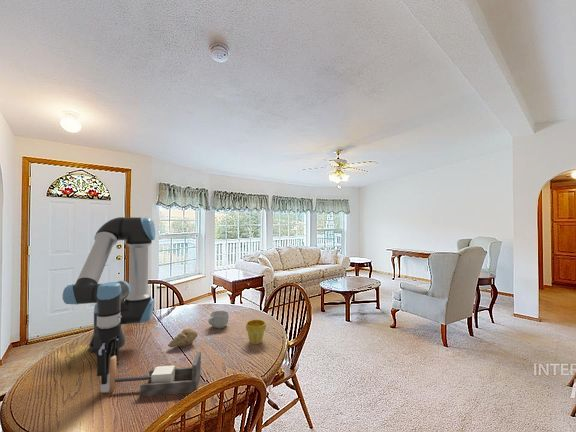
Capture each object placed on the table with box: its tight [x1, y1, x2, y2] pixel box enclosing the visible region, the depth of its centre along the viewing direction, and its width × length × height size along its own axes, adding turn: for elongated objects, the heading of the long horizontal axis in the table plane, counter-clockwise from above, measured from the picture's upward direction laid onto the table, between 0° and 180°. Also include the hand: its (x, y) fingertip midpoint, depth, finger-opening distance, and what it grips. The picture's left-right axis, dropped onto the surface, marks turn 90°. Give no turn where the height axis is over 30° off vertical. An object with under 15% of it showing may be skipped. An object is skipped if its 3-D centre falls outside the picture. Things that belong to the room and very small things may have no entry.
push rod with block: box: [103, 355, 176, 394], centre depth 106 cm, size 24×6×12 cm, turn 99°
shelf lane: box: [139, 351, 202, 397], centre depth 108 cm, size 20×10×10 cm, turn 98°
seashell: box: [167, 328, 199, 348], centre depth 141 cm, size 14×8×8 cm, turn 141°
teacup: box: [208, 310, 230, 329], centre depth 166 cm, size 14×11×8 cm
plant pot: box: [245, 319, 267, 345], centre depth 147 cm, size 10×10×10 cm
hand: (108, 387), depth 105 cm, fingers closed on push rod with block, 4 cm apart
